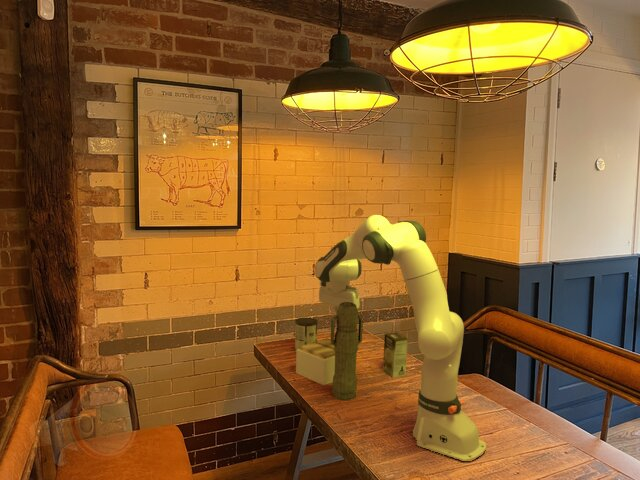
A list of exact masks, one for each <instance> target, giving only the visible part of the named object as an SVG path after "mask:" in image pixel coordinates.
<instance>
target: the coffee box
mask: <svg viewBox="0 0 640 480" xmlns="http://www.w3.org/2000/svg"><path fill="white" fill-rule="evenodd" d="M383 342H384V343H383V362H382V370H383V371H384V372H385V373H387V374H388V376H391V378H394V379H395V378H399V377H406V374H407V361H408V360H407V358H408V344H409V343H408V342H409V339H408V338H407V337H405V336H404V335H402V334H401V333H400V332H398V331H396V332H388V333H387V332H385V333H384V341H383Z"/></svg>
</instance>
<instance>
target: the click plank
mask: <svg viewBox="0 0 640 480" xmlns="http://www.w3.org/2000/svg"><path fill="white" fill-rule="evenodd" d="M316 343H318V344H321V345H324V346H326V347H329V348H332V349H334V345H332V344H331V338H329V337H325V338H323V339H320V340H317V341H316Z"/></svg>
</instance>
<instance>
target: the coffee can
mask: <svg viewBox="0 0 640 480" xmlns="http://www.w3.org/2000/svg"><path fill="white" fill-rule="evenodd" d="M294 323H295V330H294V331H295V333H294V335H295V336H294V338H295V339H294V340H295V341H294V345H295V347H294V351H295V352H296V350H297V349H300V346H303V345H306V344H310V343H313V342H315V343H316V341H318V319H316V318H313V317H300V318H297V319H295V321H294Z"/></svg>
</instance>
